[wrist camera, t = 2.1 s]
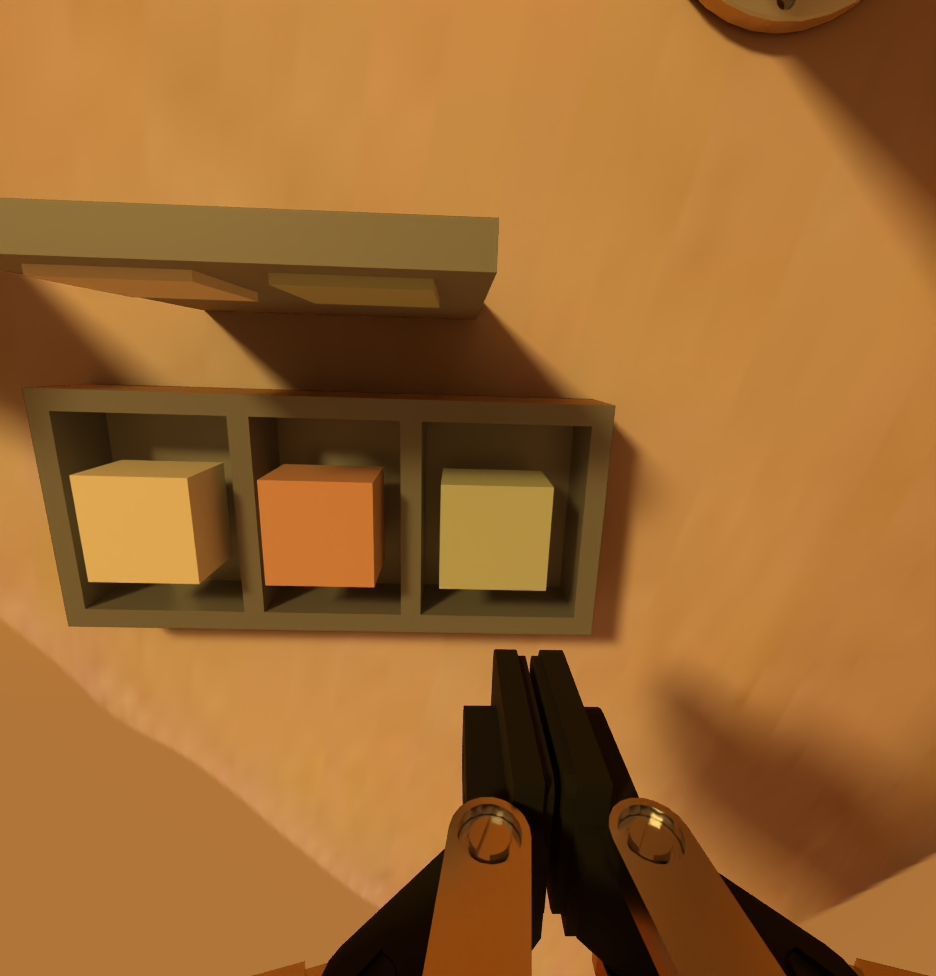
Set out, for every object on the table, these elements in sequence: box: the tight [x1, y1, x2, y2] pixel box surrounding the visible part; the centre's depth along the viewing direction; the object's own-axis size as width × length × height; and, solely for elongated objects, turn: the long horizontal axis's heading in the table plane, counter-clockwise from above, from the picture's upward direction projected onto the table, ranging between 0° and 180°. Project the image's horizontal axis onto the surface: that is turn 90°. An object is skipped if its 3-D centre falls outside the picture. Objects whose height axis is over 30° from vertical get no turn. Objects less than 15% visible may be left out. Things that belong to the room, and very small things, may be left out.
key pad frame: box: [22, 384, 615, 635], centre depth 26 cm, size 12×27×4 cm, turn 88°
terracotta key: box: [257, 464, 385, 587], centre depth 24 cm, size 5×5×3 cm
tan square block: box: [69, 460, 233, 584], centre depth 23 cm, size 5×5×3 cm
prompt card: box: [0, 198, 499, 320], centre depth 18 cm, size 2×14×14 cm, turn 88°
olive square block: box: [439, 468, 554, 591], centre depth 24 cm, size 5×5×3 cm
